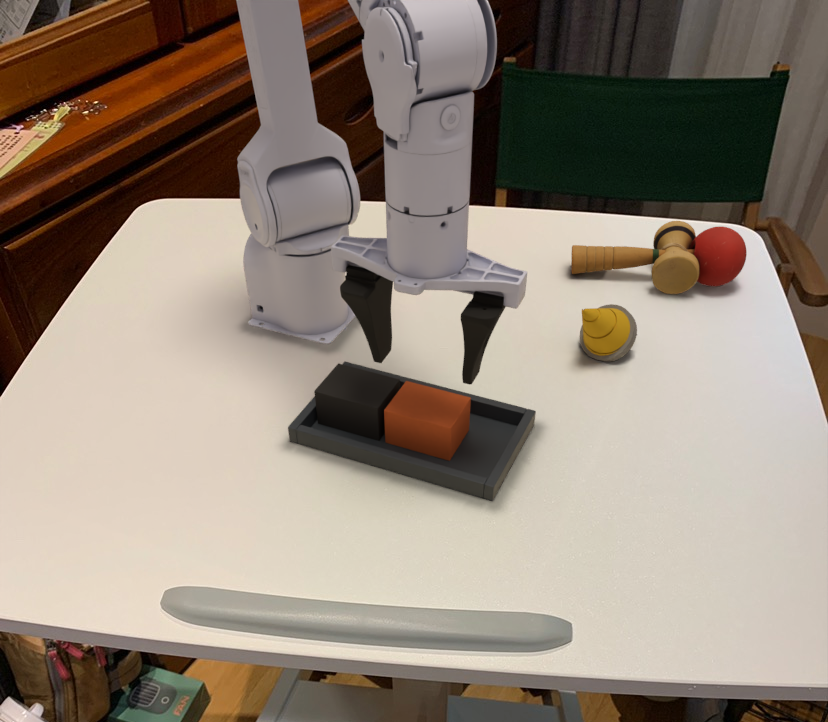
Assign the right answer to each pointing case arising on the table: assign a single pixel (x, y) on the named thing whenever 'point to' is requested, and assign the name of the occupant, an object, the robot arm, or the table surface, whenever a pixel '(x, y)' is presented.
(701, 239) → the kendama
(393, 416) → the orange block
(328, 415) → the black block
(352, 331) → the table surface
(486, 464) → the tray
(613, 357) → the spiral yellow cone
